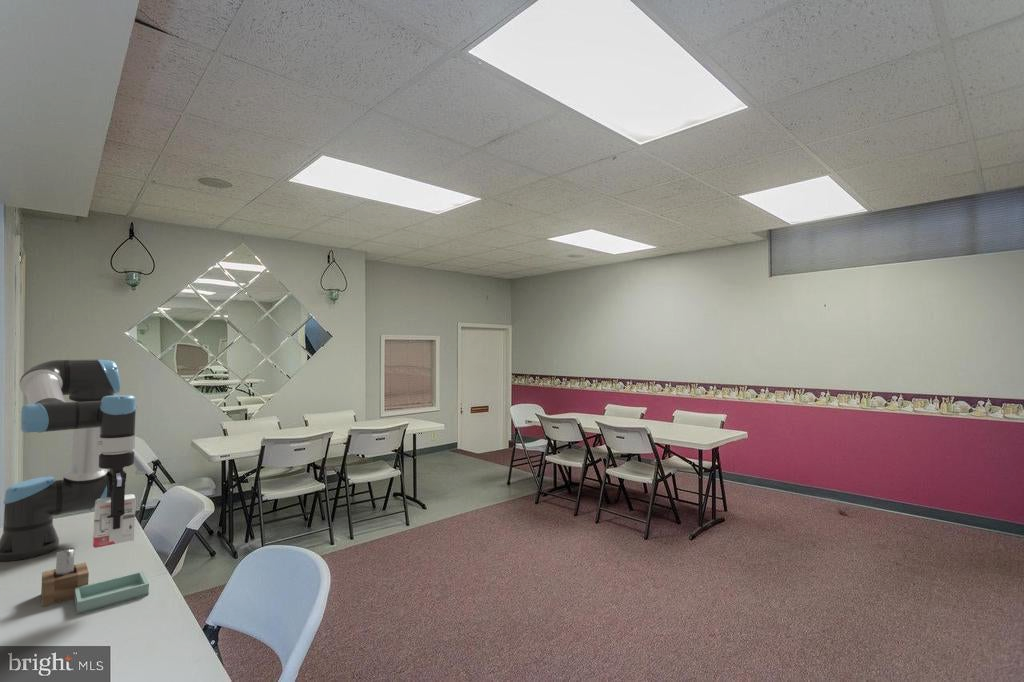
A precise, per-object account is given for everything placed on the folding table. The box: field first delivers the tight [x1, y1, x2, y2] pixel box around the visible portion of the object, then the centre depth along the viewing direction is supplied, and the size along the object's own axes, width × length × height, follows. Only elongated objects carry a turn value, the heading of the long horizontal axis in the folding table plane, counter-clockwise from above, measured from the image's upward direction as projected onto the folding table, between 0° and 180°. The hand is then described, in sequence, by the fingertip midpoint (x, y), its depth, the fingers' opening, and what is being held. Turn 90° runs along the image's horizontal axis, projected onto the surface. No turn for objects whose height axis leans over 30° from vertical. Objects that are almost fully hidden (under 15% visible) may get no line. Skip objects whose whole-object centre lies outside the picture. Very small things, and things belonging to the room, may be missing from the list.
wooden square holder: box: [40, 562, 90, 607], centre depth 132 cm, size 9×9×6 cm
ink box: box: [92, 493, 137, 548], centre depth 132 cm, size 9×5×12 cm, turn 132°
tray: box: [73, 570, 150, 615], centre depth 131 cm, size 11×15×3 cm
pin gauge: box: [55, 547, 75, 577], centre depth 132 cm, size 4×4×12 cm
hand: (114, 537), depth 132 cm, fingers closed on ink box, 5 cm apart
